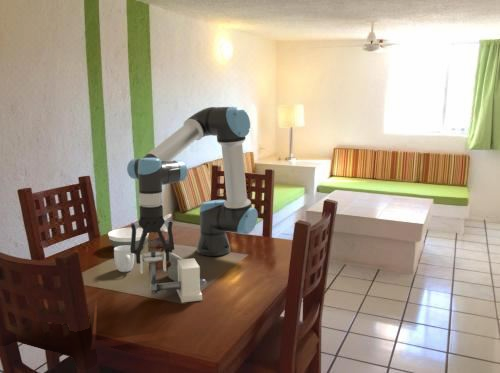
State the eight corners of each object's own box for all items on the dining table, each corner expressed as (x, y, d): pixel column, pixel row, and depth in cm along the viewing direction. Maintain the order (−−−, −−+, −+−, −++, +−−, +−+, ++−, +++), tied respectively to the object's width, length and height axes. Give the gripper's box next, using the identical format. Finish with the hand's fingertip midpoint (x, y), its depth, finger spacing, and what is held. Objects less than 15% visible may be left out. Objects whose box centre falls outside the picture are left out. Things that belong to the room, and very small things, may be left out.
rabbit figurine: (156, 230, 247) (155, 212, 245) (170, 228, 249) (169, 211, 248) (161, 235, 236) (160, 217, 234) (175, 234, 239) (175, 216, 237)
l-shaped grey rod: (204, 284, 165) (203, 241, 162) (208, 291, 158) (208, 247, 155) (142, 291, 158) (141, 247, 156) (144, 298, 152) (142, 253, 149)
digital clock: (194, 283, 171) (194, 259, 169) (174, 286, 168) (174, 262, 166) (184, 271, 183) (184, 249, 182) (165, 274, 180) (165, 252, 179)
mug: (140, 273, 181) (139, 250, 179) (120, 277, 176) (119, 253, 175) (131, 265, 190) (130, 244, 188) (112, 269, 185) (111, 247, 184)
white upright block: (195, 287, 166) (195, 257, 165) (202, 300, 155) (201, 267, 153) (176, 289, 164) (175, 259, 162) (181, 302, 153) (181, 270, 151)
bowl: (158, 247, 215) (158, 230, 214) (128, 258, 199) (127, 239, 198) (130, 241, 225) (129, 225, 223) (99, 251, 209) (98, 233, 208)
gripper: (179, 201, 157) (180, 264, 161) (119, 204, 151) (122, 270, 155) (182, 205, 150) (184, 271, 154) (120, 208, 144) (123, 278, 148)
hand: (153, 271), depth 155 cm, fingers closed on l-shaped grey rod, 7 cm apart
